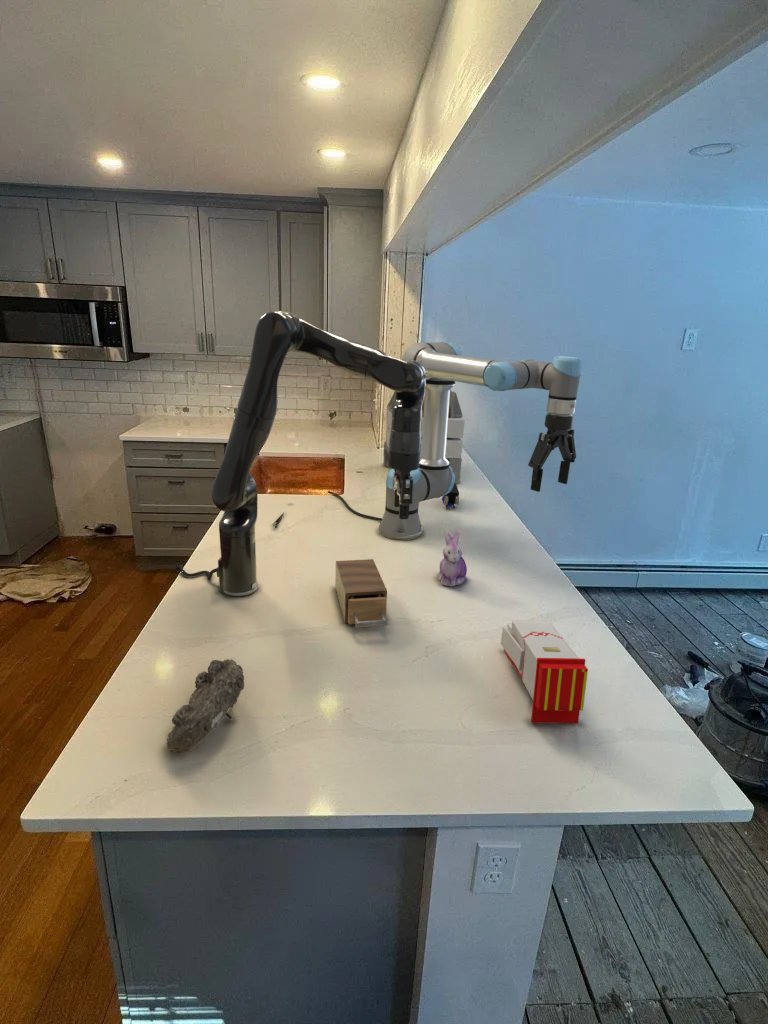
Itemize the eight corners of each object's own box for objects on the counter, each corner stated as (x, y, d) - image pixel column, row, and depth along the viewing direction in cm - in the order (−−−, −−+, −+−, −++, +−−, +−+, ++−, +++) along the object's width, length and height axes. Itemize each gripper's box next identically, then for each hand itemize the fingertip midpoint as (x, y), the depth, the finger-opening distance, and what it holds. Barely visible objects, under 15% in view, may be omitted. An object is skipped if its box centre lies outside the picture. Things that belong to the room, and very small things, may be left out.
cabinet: (385, 619, 144) (387, 590, 142) (344, 622, 142) (345, 593, 139) (372, 585, 162) (373, 559, 159) (335, 587, 160) (335, 560, 157)
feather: (291, 507, 225) (293, 503, 224) (273, 530, 198) (276, 526, 198) (287, 504, 224) (289, 500, 224) (269, 528, 198) (272, 523, 197)
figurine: (448, 590, 161) (452, 541, 156) (429, 575, 169) (432, 528, 164) (475, 584, 165) (480, 536, 160) (455, 570, 173) (459, 524, 168)
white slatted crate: (382, 463, 289) (386, 382, 275) (445, 464, 293) (451, 384, 279) (390, 482, 257) (394, 392, 243) (460, 483, 261) (468, 394, 247)
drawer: (390, 633, 137) (391, 610, 134) (352, 636, 135) (352, 613, 133) (372, 588, 158) (373, 568, 156) (339, 590, 156) (339, 569, 154)
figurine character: (459, 513, 226) (454, 497, 240) (461, 496, 223) (456, 481, 236) (442, 513, 226) (439, 497, 239) (444, 496, 222) (440, 480, 236)
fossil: (192, 660, 117) (244, 628, 112) (224, 691, 120) (276, 661, 115) (142, 746, 98) (202, 712, 93) (182, 779, 101) (242, 748, 96)
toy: (547, 606, 135) (596, 665, 106) (541, 658, 138) (589, 729, 108) (496, 604, 134) (532, 664, 105) (492, 657, 137) (526, 729, 108)
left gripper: (385, 440, 140) (382, 502, 145) (393, 455, 127) (389, 523, 132) (415, 441, 141) (411, 503, 146) (426, 455, 128) (421, 523, 133)
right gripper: (545, 420, 148) (534, 497, 155) (595, 412, 163) (583, 483, 170) (521, 415, 153) (512, 490, 160) (572, 408, 168) (562, 477, 176)
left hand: (400, 512), depth 139 cm, fingers open, 8 cm apart
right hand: (549, 486), depth 165 cm, fingers open, 13 cm apart
